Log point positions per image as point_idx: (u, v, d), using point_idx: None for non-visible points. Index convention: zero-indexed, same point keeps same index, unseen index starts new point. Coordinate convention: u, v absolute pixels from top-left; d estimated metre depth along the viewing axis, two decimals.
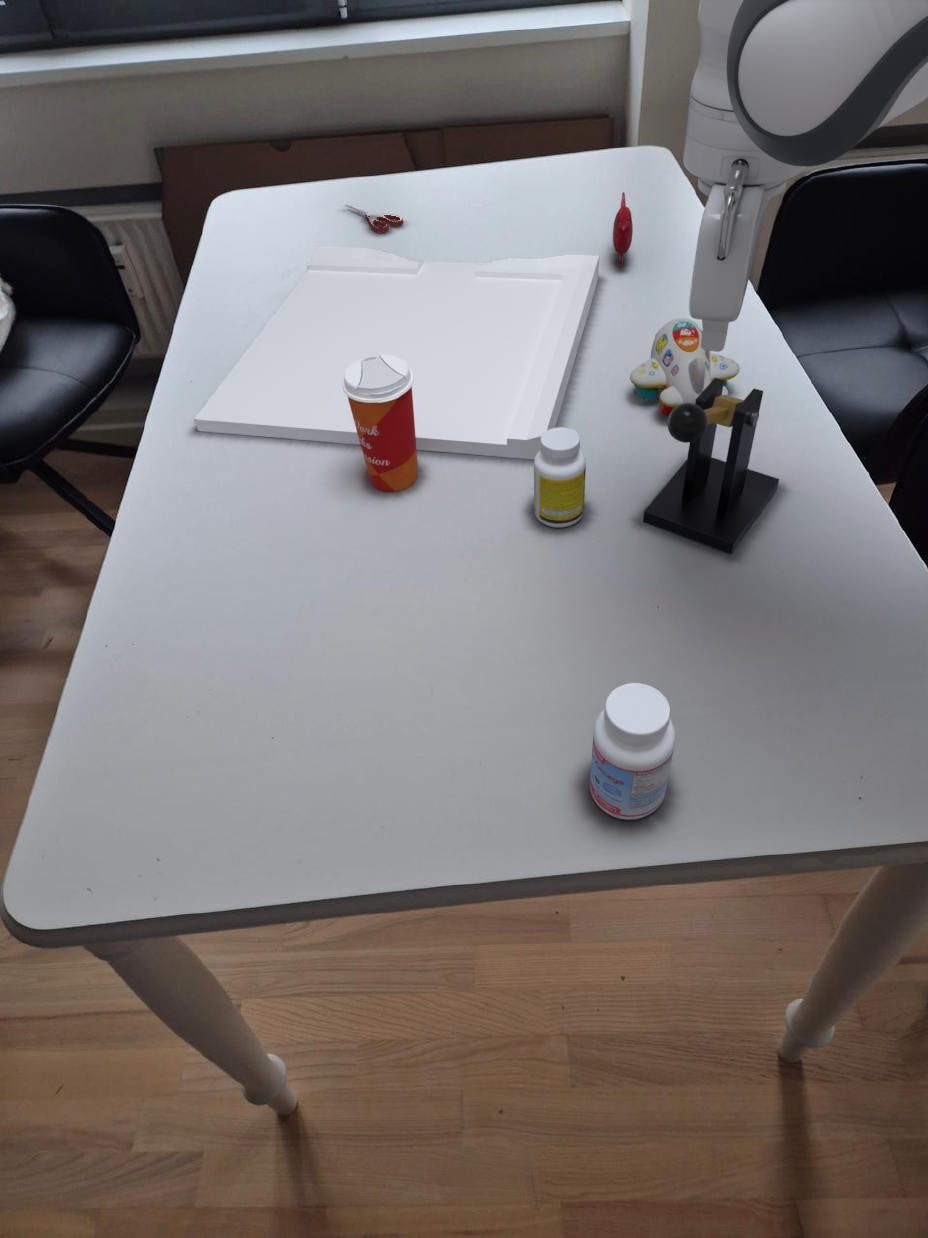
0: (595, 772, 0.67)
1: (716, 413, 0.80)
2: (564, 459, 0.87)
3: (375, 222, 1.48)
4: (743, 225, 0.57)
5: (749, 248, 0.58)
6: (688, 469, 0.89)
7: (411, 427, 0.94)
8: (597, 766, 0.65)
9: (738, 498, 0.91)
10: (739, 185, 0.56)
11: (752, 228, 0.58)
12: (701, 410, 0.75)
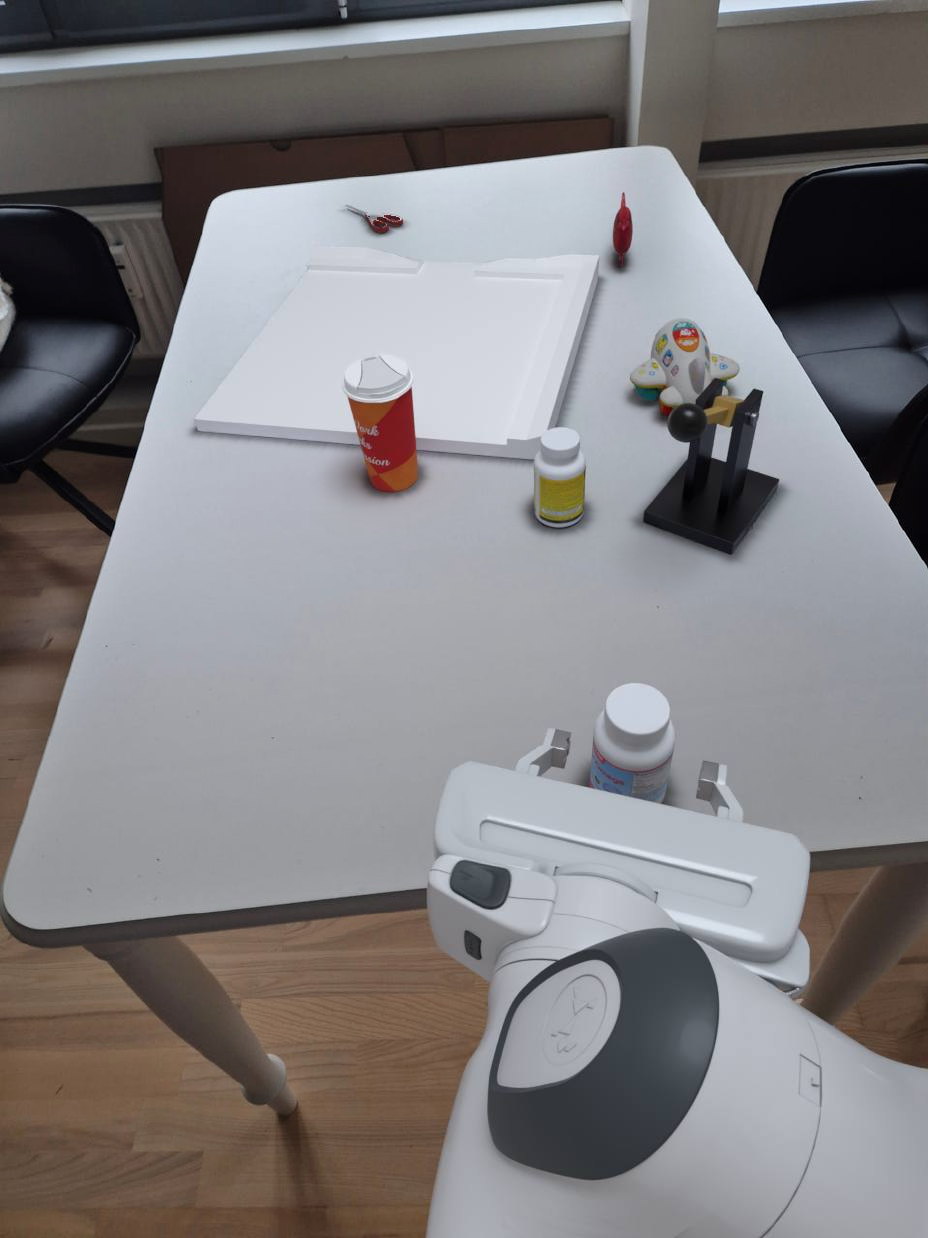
0: (595, 772, 0.67)
1: (716, 413, 0.80)
2: (564, 459, 0.87)
3: (375, 222, 1.48)
4: (784, 950, 0.42)
5: (793, 919, 0.42)
6: (688, 469, 0.89)
7: (411, 427, 0.94)
8: (597, 766, 0.65)
9: (738, 498, 0.91)
10: None
11: (783, 938, 0.42)
12: (701, 410, 0.75)
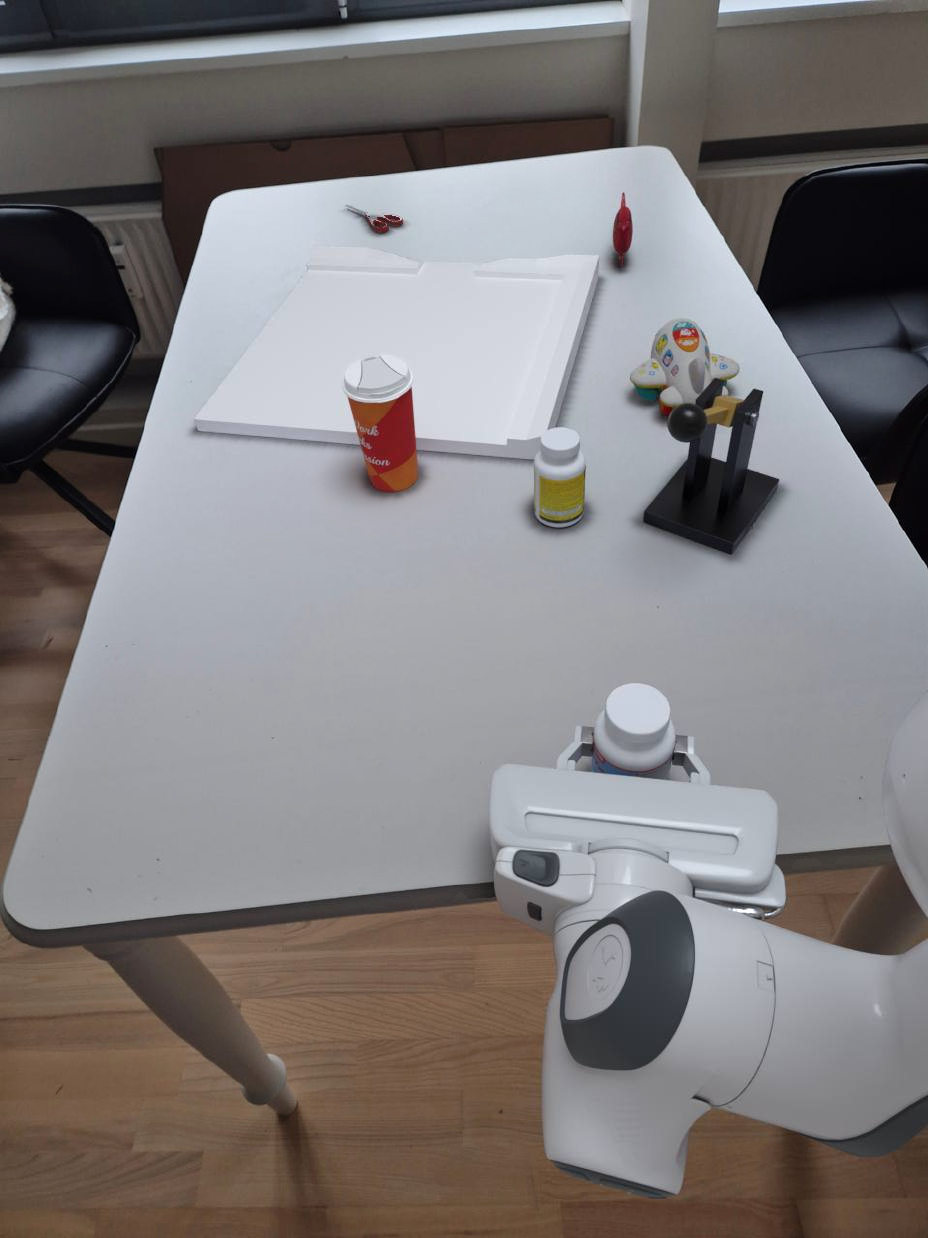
0: (595, 772, 0.67)
1: (716, 413, 0.80)
2: (564, 459, 0.87)
3: (375, 222, 1.48)
4: (766, 882, 0.56)
5: (770, 858, 0.57)
6: (688, 469, 0.89)
7: (411, 427, 0.94)
8: (598, 766, 0.65)
9: (738, 498, 0.91)
10: (754, 918, 0.55)
11: (764, 874, 0.56)
12: (701, 410, 0.75)
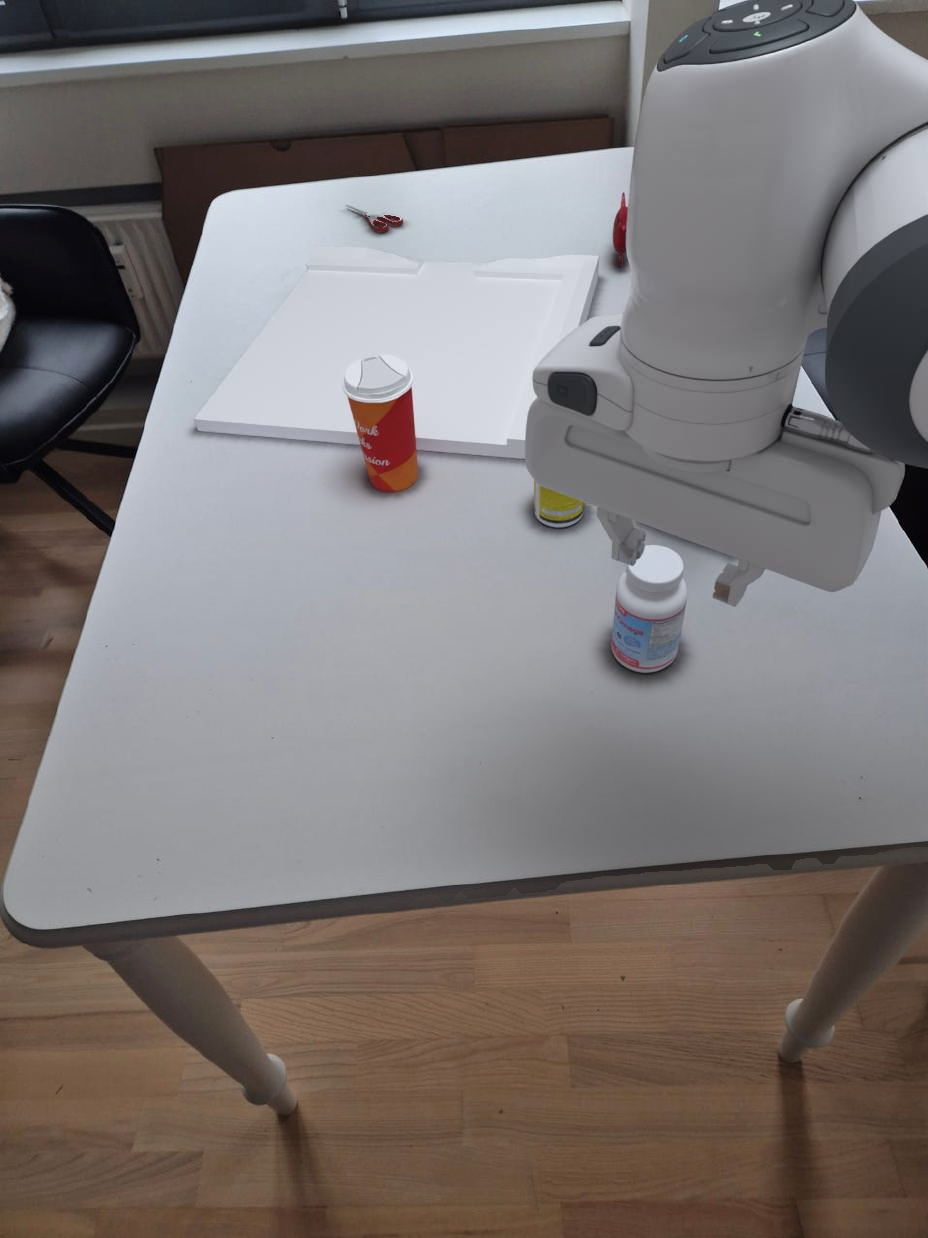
0: (617, 628, 0.76)
1: None
2: None
3: (375, 222, 1.48)
4: None
5: None
6: None
7: (411, 427, 0.94)
8: (619, 620, 0.75)
9: None
10: None
11: None
12: None
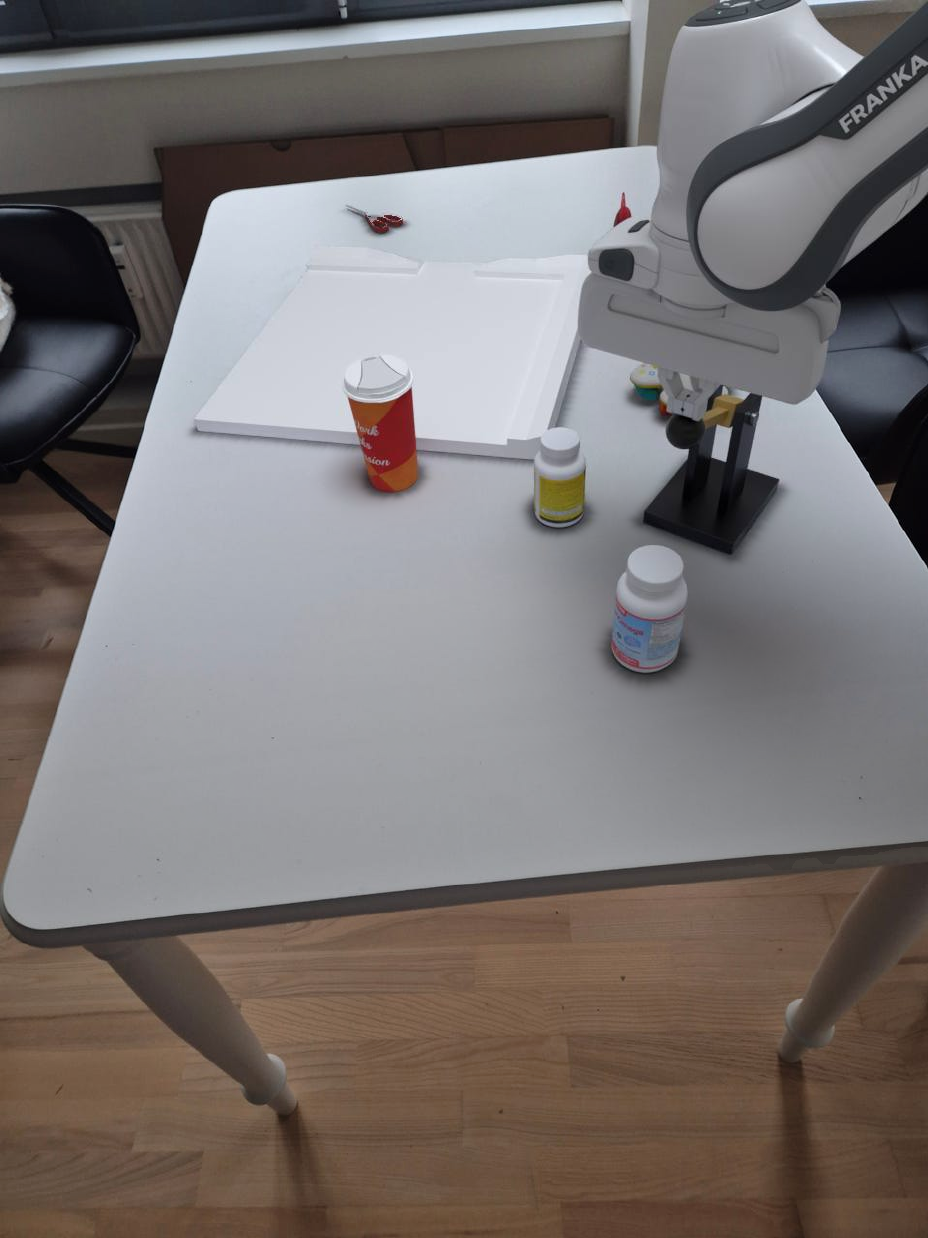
0: (617, 628, 0.76)
1: (715, 416, 0.80)
2: (564, 459, 0.87)
3: (375, 222, 1.48)
4: None
5: None
6: (688, 469, 0.89)
7: (411, 427, 0.94)
8: (620, 620, 0.75)
9: (738, 498, 0.91)
10: None
11: None
12: None
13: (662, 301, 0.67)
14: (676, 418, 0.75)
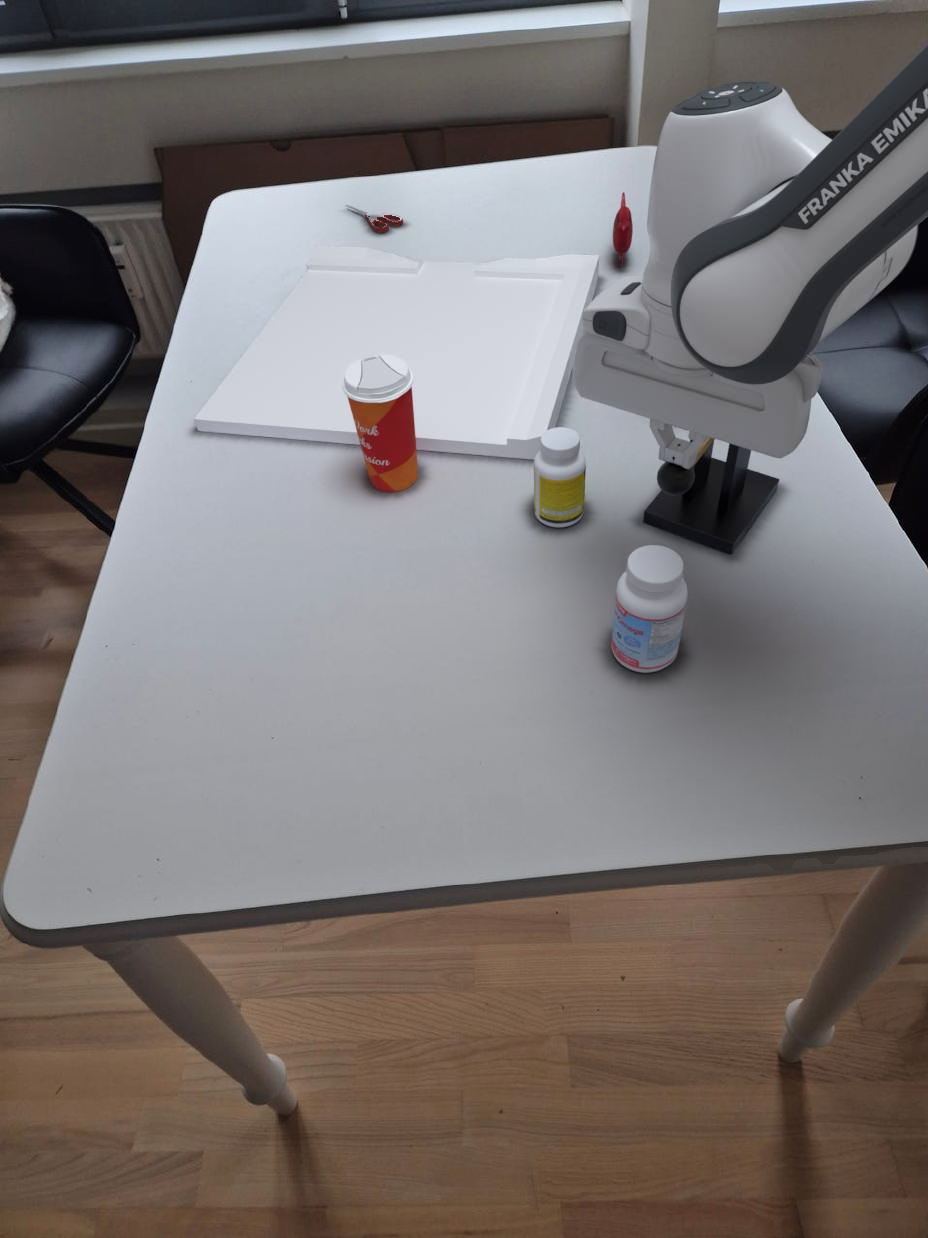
0: (617, 628, 0.76)
1: (710, 438, 0.81)
2: (564, 459, 0.87)
3: (375, 222, 1.48)
4: None
5: None
6: None
7: (411, 427, 0.94)
8: (619, 620, 0.75)
9: (738, 498, 0.91)
10: None
11: None
12: (686, 469, 0.78)
13: (653, 359, 0.70)
14: (664, 473, 0.78)
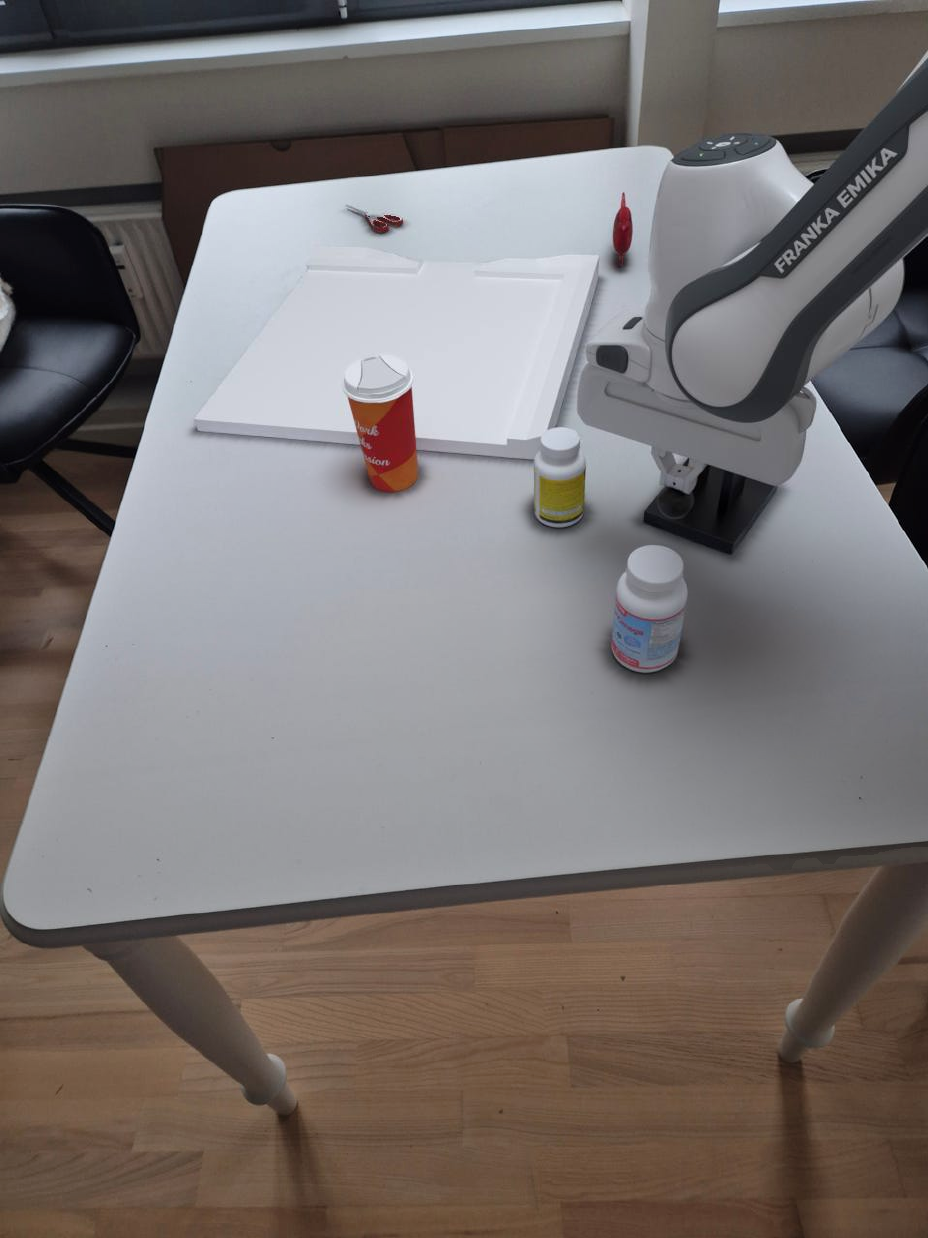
0: (617, 628, 0.76)
1: None
2: (564, 459, 0.87)
3: (375, 222, 1.48)
4: None
5: None
6: None
7: (411, 427, 0.94)
8: (619, 620, 0.75)
9: (738, 498, 0.91)
10: None
11: None
12: (683, 497, 0.80)
13: (654, 391, 0.73)
14: (662, 502, 0.81)
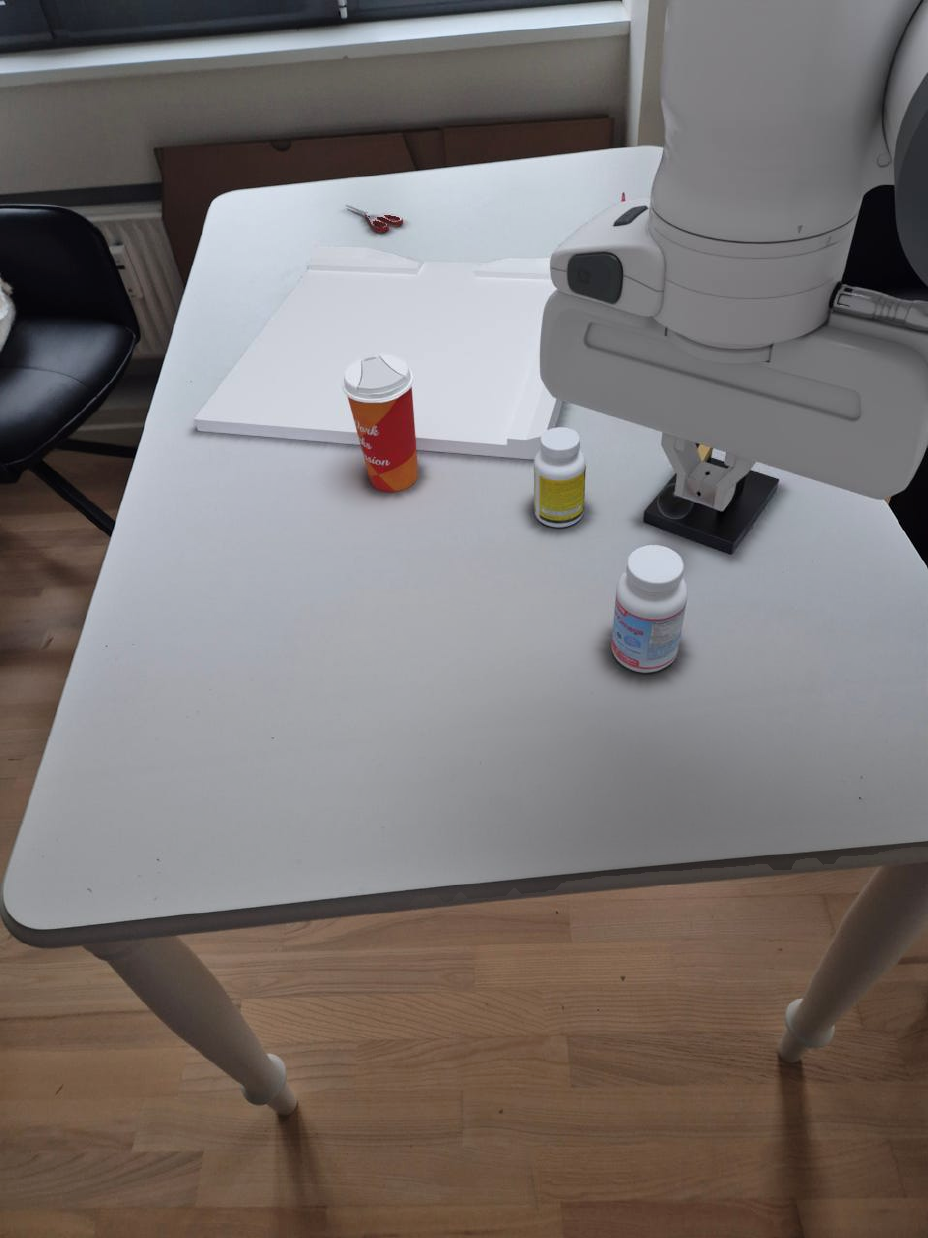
0: (617, 628, 0.76)
1: (708, 450, 0.83)
2: (564, 459, 0.87)
3: (375, 222, 1.48)
4: None
5: None
6: None
7: (411, 427, 0.94)
8: (619, 620, 0.75)
9: (738, 498, 0.91)
10: None
11: None
12: (683, 498, 0.80)
13: (669, 335, 0.42)
14: (662, 503, 0.81)
